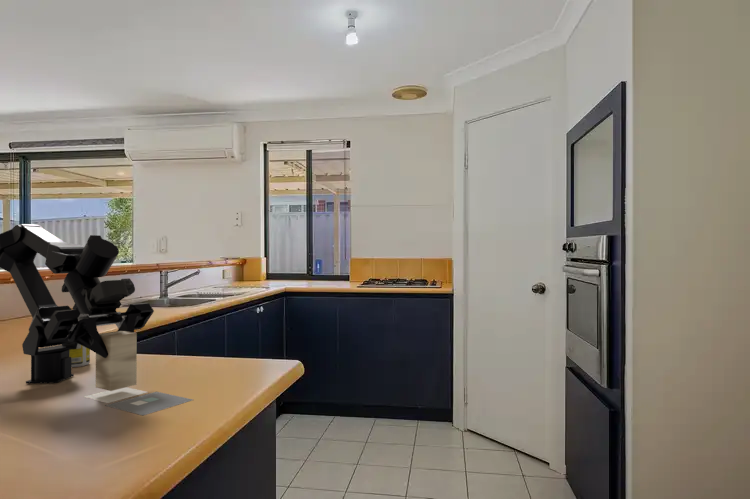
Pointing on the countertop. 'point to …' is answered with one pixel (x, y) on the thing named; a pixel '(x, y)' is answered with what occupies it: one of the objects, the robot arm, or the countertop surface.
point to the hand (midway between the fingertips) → (120, 353)
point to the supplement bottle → (79, 356)
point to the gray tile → (149, 403)
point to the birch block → (117, 361)
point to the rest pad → (115, 395)
